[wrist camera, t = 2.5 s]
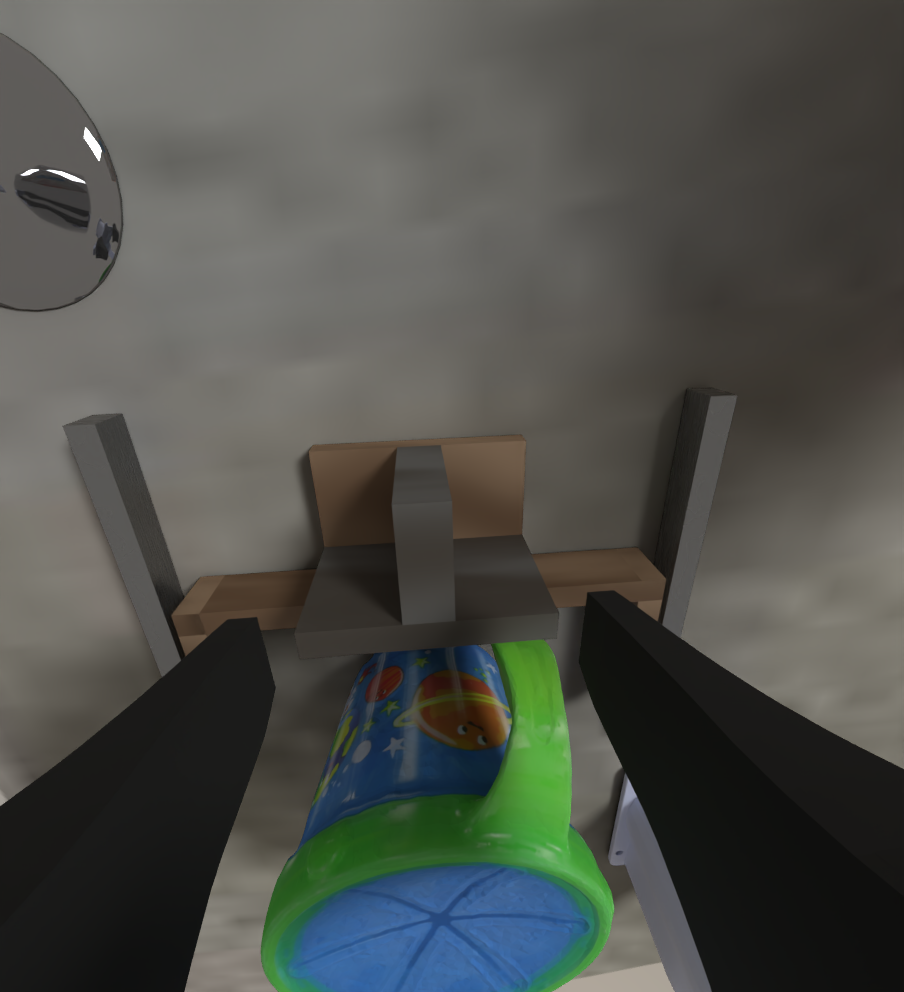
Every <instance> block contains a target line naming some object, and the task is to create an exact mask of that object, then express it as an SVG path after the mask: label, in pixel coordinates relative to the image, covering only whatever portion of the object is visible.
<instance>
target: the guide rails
mask: <svg viewBox="0 0 904 992" xmlns="http://www.w3.org/2000/svg"><path fill="white" fill-rule="evenodd" d="M736 399H737V395H735V394H731V393H728V392H724V391H721V390H718V389H714V388H694V389H687V391H686V397H685V402H684V407H683V413H682V418H681V423H680V428H679V434H678V439H677V444H676V450H675V455H674V460H673V466H672V471H671V476H670V481H669V487H668V492H667V497H666V503H665V508H664V513H663V518H662V524H661V529H660V534H659V540H658V545H657V550H656V556H655V561H654V566H655V567H656V568H657V570H658V571H659V572H660V573H661V574H662V575H663V576H664V577H665V578H666V584H665V589H664V594H663V599H662V603H661V608H660V613H659V618H658V622H659V623H660V624H662V625H663V626H664V627H666V628H667V629H668V630H670V631H671V632H673V633H674V634H675V635H677V636H678V637H679V638H680V636H681V632H682V628H683V624H684V619H685V615H686V611H687V607H688V603H689V598H690V594H691V590H692V586H693V581H694V577H695V573H696V569H697V564H698V560H699V556H700V552H701V548H702V543H703V539H704V535H705V531H706V526H707V522H708V518H709V514H710V509H711V505H712V501H713V497H714V493H715V488H716V484H717V480H718V476H719V471H720V467H721V463H722V459H723V454H724V450H725V446H726V442H727V438H728V433H729V429H730V425H731V421H732V416H733V412H734V408H735V404H736ZM63 428H64V431H65V433H66V436H67V438H68V441H69V444H70V446H71V449H72V451H73V454H74V456H75V459H76V461H77V464H78V466H79V469H80V471H81V474H82V476H83V479H84V481H85V484H86V486H87V489H88V492H89V494H90V497H91V499H92V502H93V504H94V507H95V509H96V512H97V514H98V517H99V519H100V522H101V524H102V527H103V529H104V532H105V534H106V537H107V540H108V542H109V545H110V547H111V550H112V552H113V555H114V557H115V560H116V562H117V565H118V567H119V570H120V572H121V575H122V577H123V580H124V582H125V585H126V588H127V590H128V593H129V595H130V598H131V600H132V603H133V605H134V608H135V610H136V613H137V615H138V618H139V620H140V623H141V625H142V628H143V630H144V633H145V636H146V638H147V641H148V643H149V646H150V648H151V651H152V653H153V656H154V658H155V661H156V663H157V666H158V668H159V671H160V673H161V676H162V677H163V676H164V675H165V674H167V673H168V672H169V671H170V670H171V669H172V668H173V667H174V666H176V665H177V664H178V663H179V662H180V661H181V660H182V659H183V658H184V657H186V656H185V653H184V650H183V647H182V645H181V642H180V639H179V636H178V633H177V631H176V628H175V625H174V622H173V619H172V617H171V615H172V614H173V612H174V611H175V610H176V609H177V607H178V606H179V605H180V603H181V602H182V601H183V599H184V596H183V593H182V590H181V587H180V584H179V581H178V578H177V575H176V572H175V569H174V566H173V563H172V561H171V558H170V555H169V552H168V549H167V546H166V543H165V540H164V537H163V534H162V531H161V528H160V525H159V522H158V519H157V516H156V513H155V510H154V507H153V504H152V501H151V498H150V495H149V492H148V489H147V486H146V483H145V480H144V477H143V474H142V471H141V468H140V465H139V462H138V459H137V456H136V453H135V450H134V447H133V444H132V441H131V438H130V435H129V432H128V429H127V426H126V423H125V420H124V417H123V414H103V415H91V416H89V417H86V418H83V419H80V420H78V421H75V422H72V423H69V424H66V425H64V426H63Z"/></svg>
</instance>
